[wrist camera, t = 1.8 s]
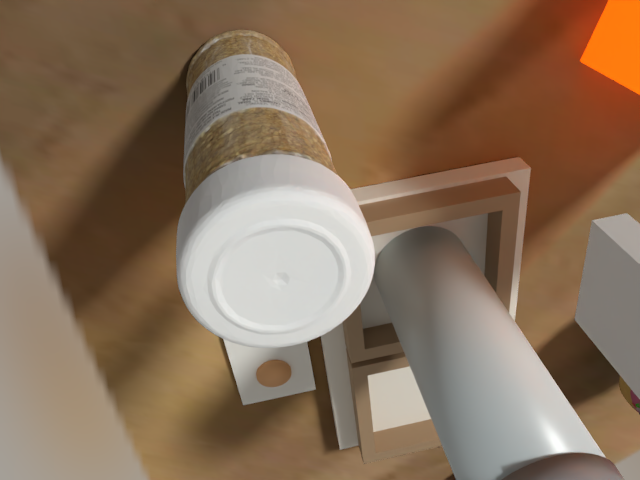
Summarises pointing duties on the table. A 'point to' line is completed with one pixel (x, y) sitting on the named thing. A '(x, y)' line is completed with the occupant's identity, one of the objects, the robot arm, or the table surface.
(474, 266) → the white bottle
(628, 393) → the cupcake
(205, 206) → the spice jar
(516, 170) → the frame
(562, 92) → the table surface
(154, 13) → the table surface
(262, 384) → the white switch plate
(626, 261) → the robot arm
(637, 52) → the orange juice
